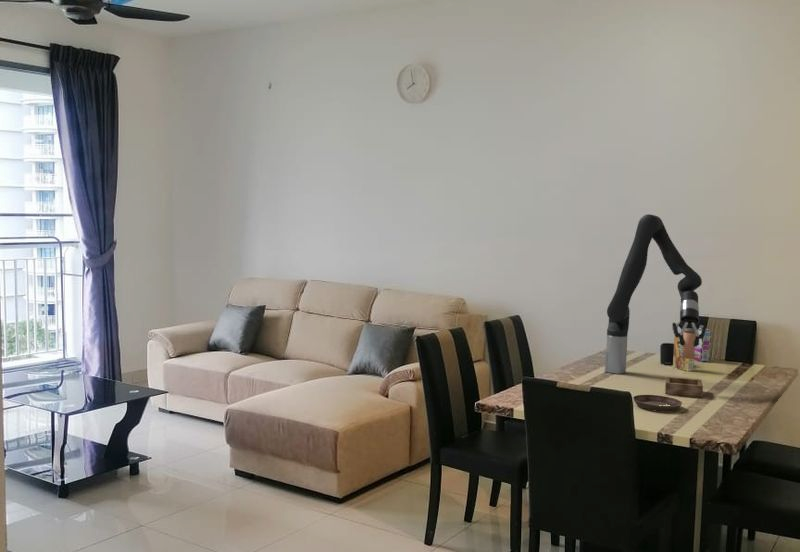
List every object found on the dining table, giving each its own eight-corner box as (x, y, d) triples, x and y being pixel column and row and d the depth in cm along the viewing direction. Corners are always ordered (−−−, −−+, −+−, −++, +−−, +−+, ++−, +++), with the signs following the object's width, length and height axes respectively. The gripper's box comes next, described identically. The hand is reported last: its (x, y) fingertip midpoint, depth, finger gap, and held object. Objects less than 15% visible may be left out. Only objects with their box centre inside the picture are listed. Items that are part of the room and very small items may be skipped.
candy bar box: (710, 362, 386) (711, 330, 385) (700, 362, 386) (702, 330, 384) (699, 358, 397) (700, 327, 396) (690, 358, 397) (691, 327, 396)
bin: (665, 394, 308) (665, 383, 308) (665, 387, 322) (665, 376, 321) (702, 398, 304) (702, 386, 304) (700, 390, 317) (701, 379, 317)
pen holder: (655, 363, 379) (656, 343, 378) (669, 362, 383) (670, 342, 382) (669, 366, 370) (670, 346, 370) (683, 365, 374) (684, 345, 374)
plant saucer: (678, 404, 294) (678, 396, 293) (685, 415, 276) (685, 407, 276) (630, 400, 297) (631, 392, 297) (634, 411, 280) (635, 403, 280)
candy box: (693, 370, 362) (695, 338, 361) (688, 371, 359) (689, 339, 358) (677, 367, 369) (679, 336, 368) (672, 368, 367) (673, 336, 366)
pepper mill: (682, 358, 312) (683, 329, 311) (681, 356, 317) (683, 327, 316) (694, 359, 311) (696, 330, 310) (694, 357, 315) (695, 328, 314)
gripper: (672, 306, 322) (671, 338, 311) (708, 308, 317) (708, 341, 307) (671, 317, 327) (670, 349, 317) (706, 319, 323) (707, 351, 312)
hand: (689, 344), depth 312 cm, fingers closed on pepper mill, 4 cm apart
